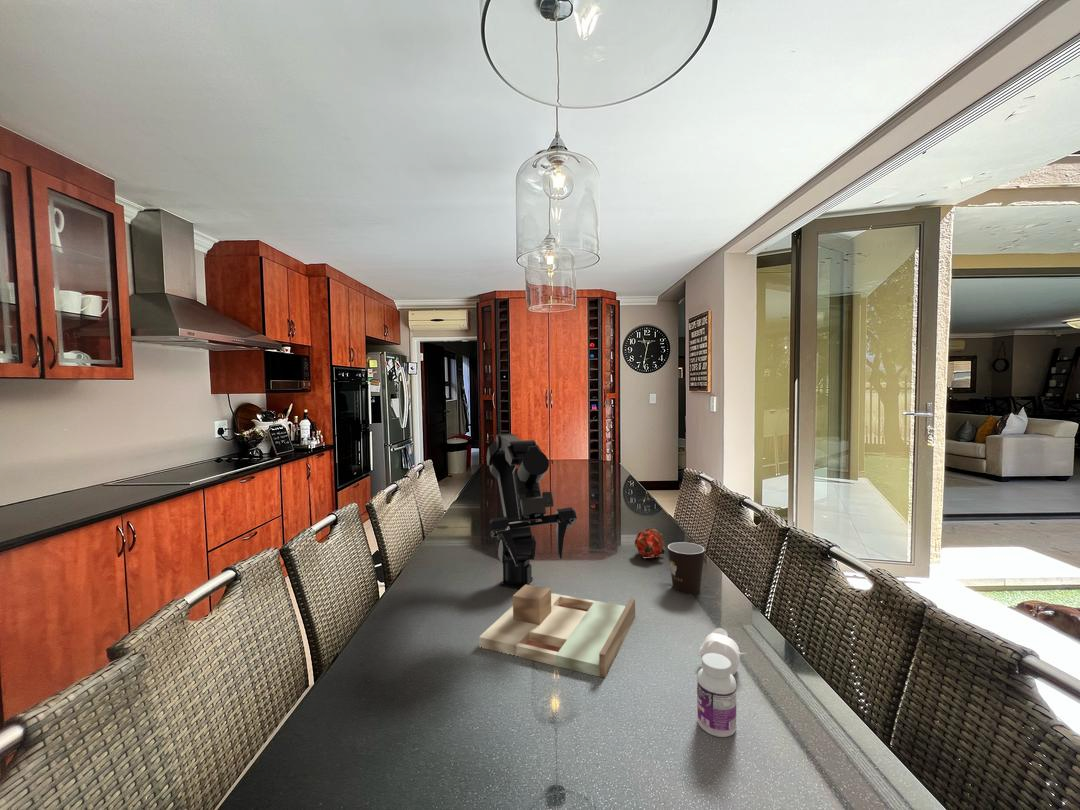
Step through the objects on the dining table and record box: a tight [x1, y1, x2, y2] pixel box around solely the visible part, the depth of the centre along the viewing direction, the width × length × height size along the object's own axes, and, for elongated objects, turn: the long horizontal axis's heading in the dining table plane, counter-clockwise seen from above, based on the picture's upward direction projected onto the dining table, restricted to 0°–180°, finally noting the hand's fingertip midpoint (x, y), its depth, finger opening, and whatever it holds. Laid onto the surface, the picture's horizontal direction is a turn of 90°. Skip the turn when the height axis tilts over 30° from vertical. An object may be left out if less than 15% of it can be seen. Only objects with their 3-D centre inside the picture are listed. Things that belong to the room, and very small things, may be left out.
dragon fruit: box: [634, 528, 666, 560], centre depth 136 cm, size 8×8×12 cm
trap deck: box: [478, 592, 636, 679], centre depth 94 cm, size 25×23×4 cm
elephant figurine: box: [698, 627, 747, 676], centre depth 81 cm, size 7×8×6 cm
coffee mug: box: [667, 541, 705, 595], centre depth 115 cm, size 12×9×10 cm
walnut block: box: [512, 584, 552, 625], centre depth 97 cm, size 6×6×5 cm
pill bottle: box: [696, 653, 737, 738], centre depth 67 cm, size 5×5×10 cm
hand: (538, 562), depth 98 cm, fingers open, 9 cm apart
